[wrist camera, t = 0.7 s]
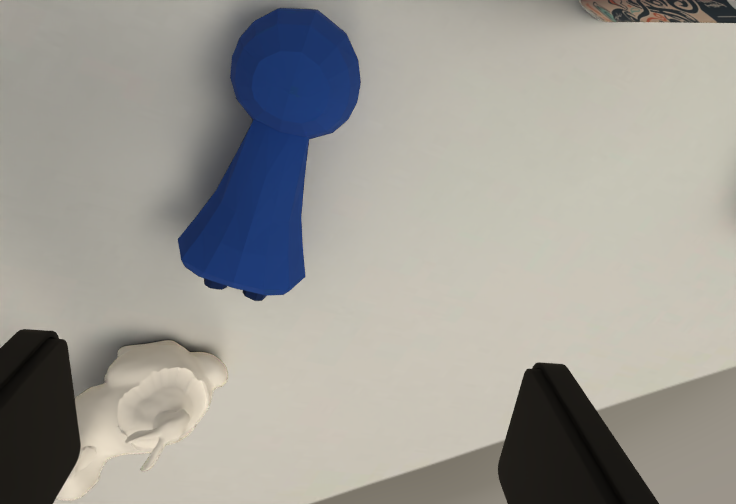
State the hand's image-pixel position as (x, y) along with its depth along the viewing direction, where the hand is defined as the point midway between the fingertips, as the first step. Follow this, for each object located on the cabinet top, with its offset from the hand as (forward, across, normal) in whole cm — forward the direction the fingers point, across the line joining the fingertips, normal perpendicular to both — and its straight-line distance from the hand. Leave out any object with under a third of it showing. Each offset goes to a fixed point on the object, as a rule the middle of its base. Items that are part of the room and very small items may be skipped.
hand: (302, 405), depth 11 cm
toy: (+20, +3, 0) cm, 20 cm away
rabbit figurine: (+20, +11, +14) cm, 27 cm away
